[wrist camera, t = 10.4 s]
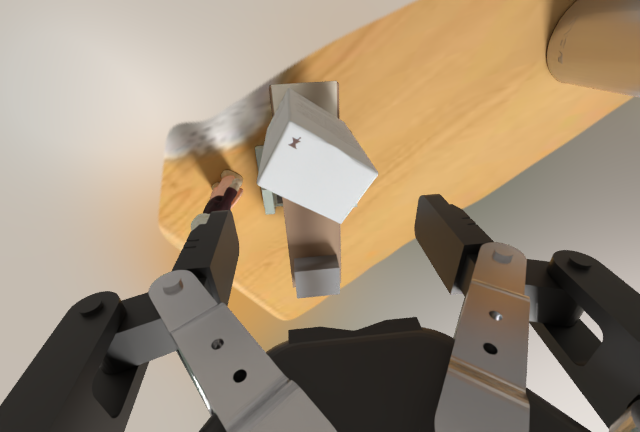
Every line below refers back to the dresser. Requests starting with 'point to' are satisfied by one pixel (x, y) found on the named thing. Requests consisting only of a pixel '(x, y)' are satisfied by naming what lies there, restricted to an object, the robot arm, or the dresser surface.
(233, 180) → the grandmother figurine
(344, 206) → the skincare box
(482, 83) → the dresser surface
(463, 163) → the dresser surface
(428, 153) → the dresser surface
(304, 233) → the beam
